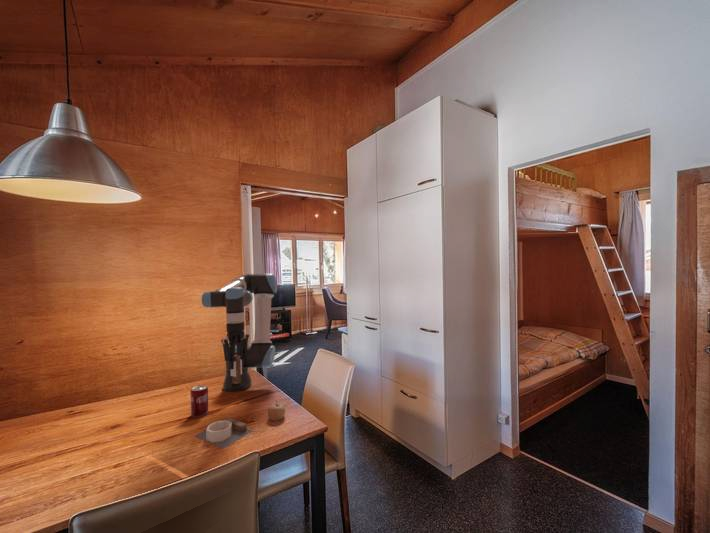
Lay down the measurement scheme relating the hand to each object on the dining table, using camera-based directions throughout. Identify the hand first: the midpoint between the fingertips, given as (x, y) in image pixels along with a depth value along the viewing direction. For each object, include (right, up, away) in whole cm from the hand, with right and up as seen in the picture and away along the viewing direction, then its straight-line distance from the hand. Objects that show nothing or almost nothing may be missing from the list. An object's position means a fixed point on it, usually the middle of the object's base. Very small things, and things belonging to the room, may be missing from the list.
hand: (236, 374), depth 141 cm
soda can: (-19, -20, +5) cm, 28 cm away
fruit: (+19, -19, -3) cm, 27 cm away
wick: (+3, -18, -11) cm, 21 cm away
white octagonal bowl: (0, -18, -17) cm, 25 cm away
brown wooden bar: (0, -4, 0) cm, 4 cm away
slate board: (+1, -19, -15) cm, 24 cm away
